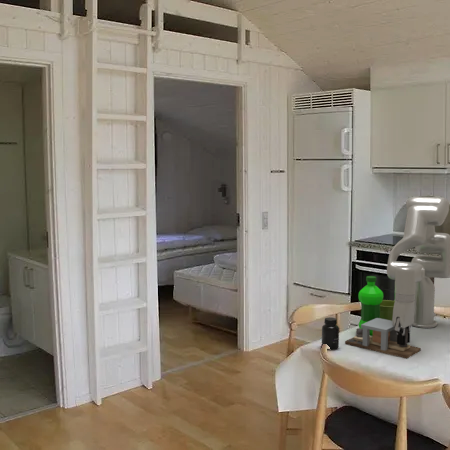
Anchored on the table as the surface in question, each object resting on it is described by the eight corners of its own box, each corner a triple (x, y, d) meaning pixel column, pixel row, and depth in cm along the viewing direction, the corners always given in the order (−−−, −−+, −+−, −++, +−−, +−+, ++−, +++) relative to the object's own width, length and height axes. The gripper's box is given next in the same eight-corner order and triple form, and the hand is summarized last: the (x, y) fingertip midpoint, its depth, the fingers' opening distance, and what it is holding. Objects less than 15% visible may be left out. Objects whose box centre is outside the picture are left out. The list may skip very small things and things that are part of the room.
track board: (359, 337, 253) (359, 334, 253) (420, 350, 235) (420, 347, 235) (344, 343, 244) (345, 340, 244) (407, 358, 226) (407, 355, 226)
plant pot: (395, 323, 273) (396, 299, 271) (404, 331, 261) (404, 306, 259) (369, 324, 272) (370, 299, 271) (377, 331, 260) (377, 306, 259)
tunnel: (376, 337, 248) (376, 317, 247) (401, 343, 241) (401, 322, 240) (360, 345, 239) (361, 324, 238) (385, 351, 231) (386, 329, 230)
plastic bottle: (355, 335, 255) (356, 278, 252) (361, 329, 264) (361, 273, 261) (379, 338, 251) (381, 280, 248) (384, 331, 260) (385, 275, 257)
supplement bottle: (338, 351, 236) (339, 321, 234) (321, 350, 237) (321, 320, 236) (338, 345, 243) (339, 316, 241) (321, 344, 244) (322, 316, 242)
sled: (360, 336, 249) (360, 317, 248) (410, 347, 235) (410, 327, 234) (353, 339, 245) (353, 320, 244) (403, 351, 230) (403, 331, 229)
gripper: (405, 292, 240) (403, 336, 242) (385, 300, 228) (384, 346, 230) (423, 295, 234) (421, 340, 237) (404, 303, 222) (402, 350, 225)
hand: (403, 343), depth 233 cm, fingers closed on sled, 3 cm apart
